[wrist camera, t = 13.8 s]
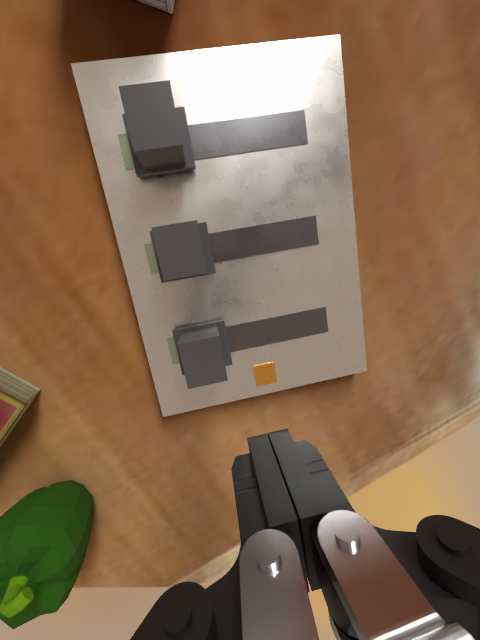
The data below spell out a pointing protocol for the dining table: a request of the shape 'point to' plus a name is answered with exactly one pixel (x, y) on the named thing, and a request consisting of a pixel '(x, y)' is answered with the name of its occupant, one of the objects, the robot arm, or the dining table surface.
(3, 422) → the hardcover book
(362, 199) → the dining table surface
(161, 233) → the lever middle
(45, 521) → the bell pepper
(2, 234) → the dining table surface
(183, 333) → the lever
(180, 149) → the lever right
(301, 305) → the switch panel
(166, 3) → the medicine box
